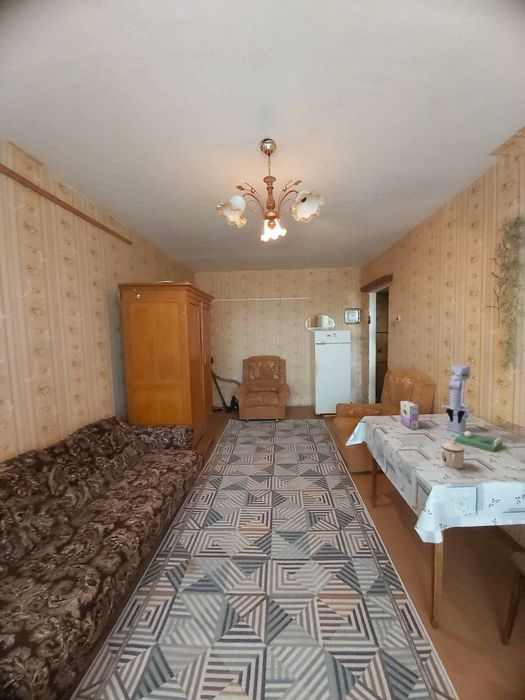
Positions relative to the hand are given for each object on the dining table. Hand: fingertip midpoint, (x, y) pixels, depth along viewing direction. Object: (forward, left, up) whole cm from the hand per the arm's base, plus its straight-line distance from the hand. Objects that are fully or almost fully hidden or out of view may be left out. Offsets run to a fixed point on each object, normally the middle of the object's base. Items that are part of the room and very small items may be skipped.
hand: (455, 422), depth 167 cm
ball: (+7, 0, -6) cm, 9 cm away
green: (+12, 0, -10) cm, 15 cm away
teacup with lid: (+14, -40, -10) cm, 43 cm away
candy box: (-28, +1, -10) cm, 30 cm away
